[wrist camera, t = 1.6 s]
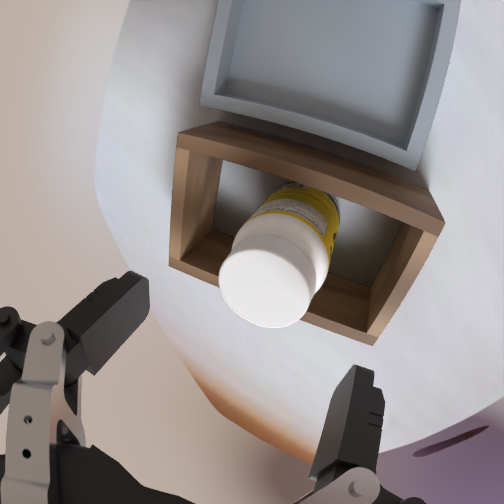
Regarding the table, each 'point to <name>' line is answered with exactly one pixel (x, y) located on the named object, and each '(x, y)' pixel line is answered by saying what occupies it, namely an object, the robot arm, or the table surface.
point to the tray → (335, 68)
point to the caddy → (316, 176)
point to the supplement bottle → (281, 256)
